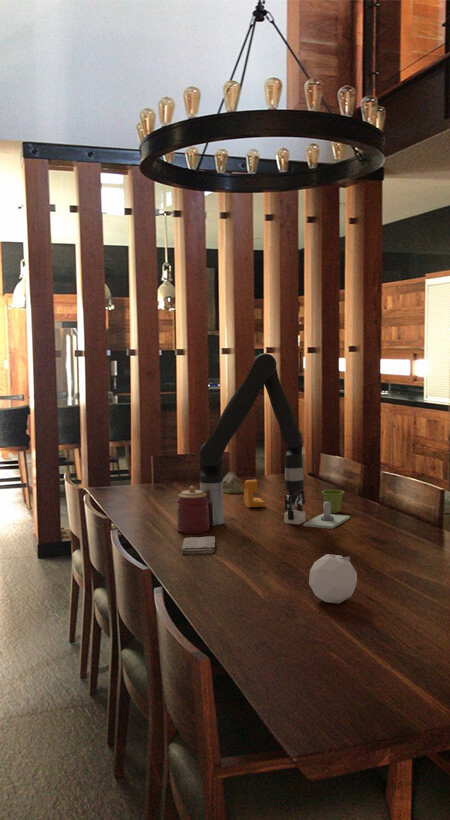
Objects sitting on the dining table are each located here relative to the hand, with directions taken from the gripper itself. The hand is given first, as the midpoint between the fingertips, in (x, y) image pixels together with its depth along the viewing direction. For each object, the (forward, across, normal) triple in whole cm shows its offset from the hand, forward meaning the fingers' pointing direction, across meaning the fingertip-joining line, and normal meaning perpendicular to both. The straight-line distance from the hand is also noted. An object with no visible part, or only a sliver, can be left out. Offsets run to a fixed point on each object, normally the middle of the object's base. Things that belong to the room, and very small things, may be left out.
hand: (295, 517), depth 311 cm
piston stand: (+2, +5, -12) cm, 13 cm away
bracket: (+2, +22, +30) cm, 37 cm away
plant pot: (+2, +24, -7) cm, 25 cm away
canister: (+2, -28, +31) cm, 42 cm away
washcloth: (+2, -50, +15) cm, 53 cm away
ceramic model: (+2, +50, +57) cm, 76 cm away
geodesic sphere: (+2, -84, -50) cm, 98 cm away
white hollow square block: (+2, 0, 0) cm, 2 cm away
